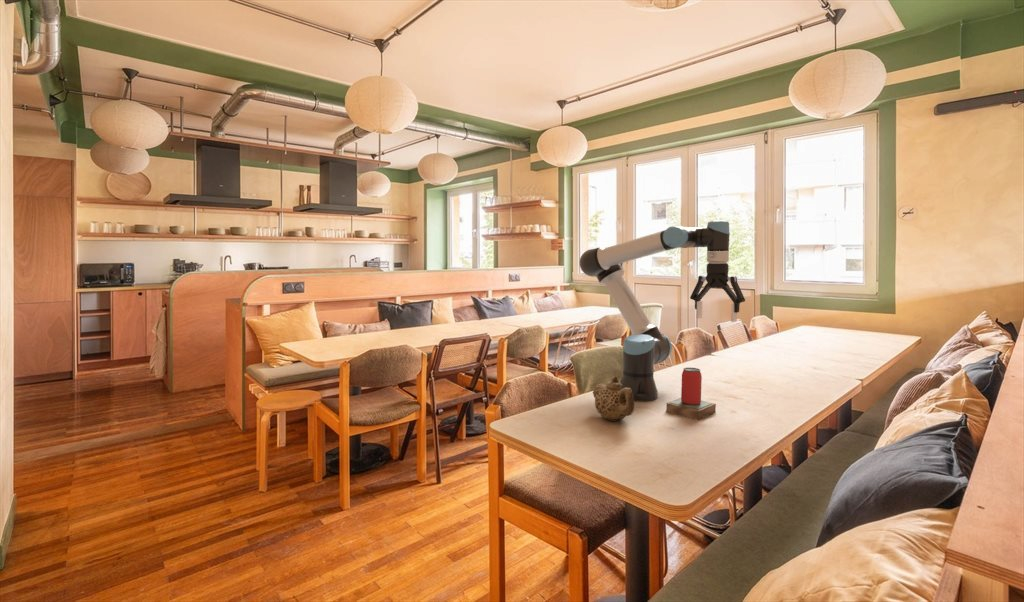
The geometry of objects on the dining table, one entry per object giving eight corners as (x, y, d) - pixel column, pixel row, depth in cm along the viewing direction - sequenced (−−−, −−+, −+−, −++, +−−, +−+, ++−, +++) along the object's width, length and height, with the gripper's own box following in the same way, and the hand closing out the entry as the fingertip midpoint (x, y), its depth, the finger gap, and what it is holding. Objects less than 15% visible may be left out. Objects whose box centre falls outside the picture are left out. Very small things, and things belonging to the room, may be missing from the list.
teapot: (582, 412, 173) (582, 370, 171) (609, 408, 177) (610, 367, 176) (618, 433, 153) (618, 385, 152) (648, 427, 158) (649, 381, 156)
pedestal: (666, 411, 174) (666, 402, 174) (683, 404, 182) (684, 395, 182) (698, 419, 165) (698, 410, 165) (715, 412, 173) (715, 403, 173)
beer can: (702, 406, 169) (703, 371, 168) (682, 405, 171) (683, 371, 170) (699, 400, 176) (700, 367, 175) (679, 399, 177) (680, 366, 176)
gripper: (681, 263, 190) (680, 317, 192) (746, 263, 171) (744, 323, 173) (692, 262, 195) (691, 316, 197) (756, 262, 176) (754, 321, 178)
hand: (716, 319), depth 185 cm, fingers open, 13 cm apart
